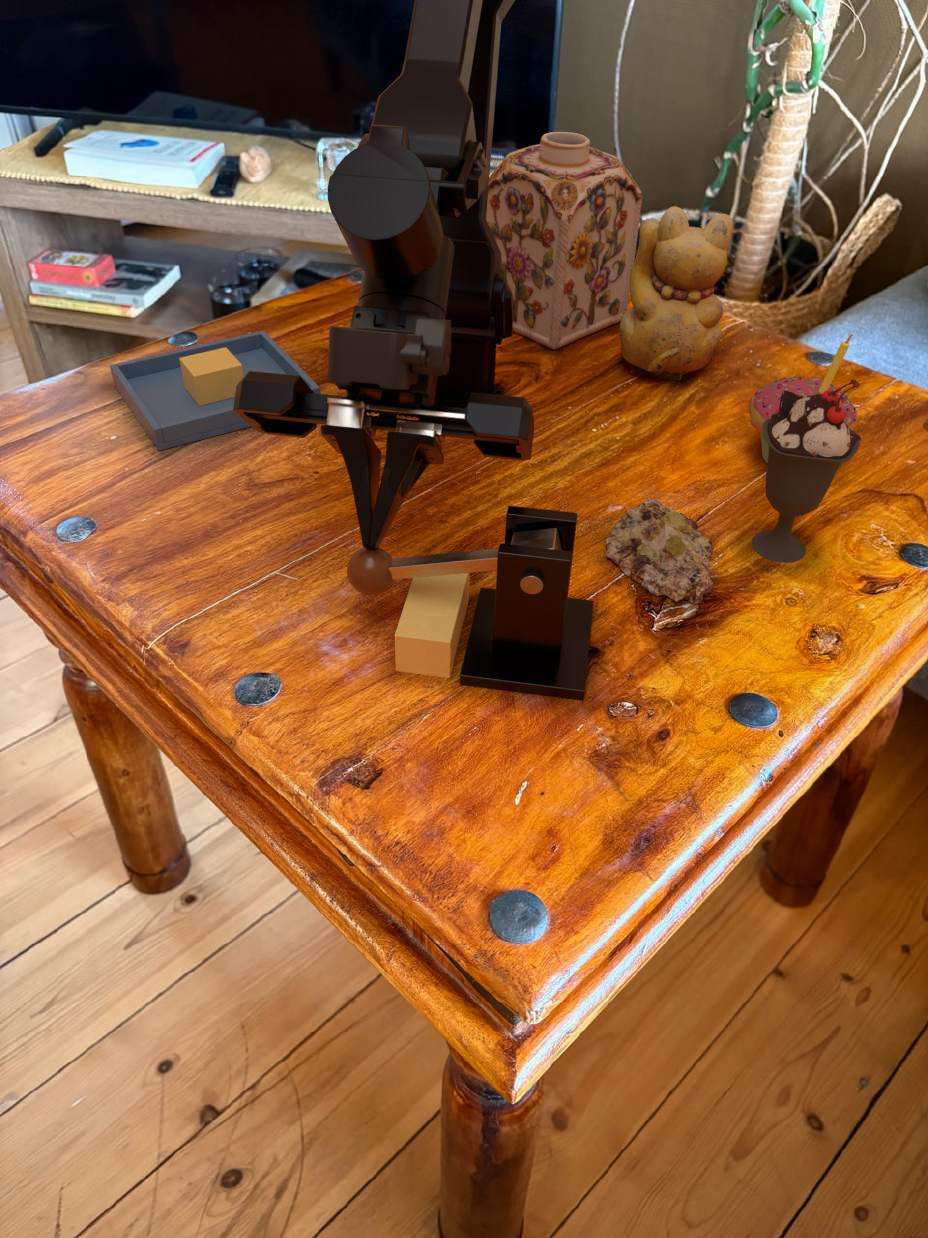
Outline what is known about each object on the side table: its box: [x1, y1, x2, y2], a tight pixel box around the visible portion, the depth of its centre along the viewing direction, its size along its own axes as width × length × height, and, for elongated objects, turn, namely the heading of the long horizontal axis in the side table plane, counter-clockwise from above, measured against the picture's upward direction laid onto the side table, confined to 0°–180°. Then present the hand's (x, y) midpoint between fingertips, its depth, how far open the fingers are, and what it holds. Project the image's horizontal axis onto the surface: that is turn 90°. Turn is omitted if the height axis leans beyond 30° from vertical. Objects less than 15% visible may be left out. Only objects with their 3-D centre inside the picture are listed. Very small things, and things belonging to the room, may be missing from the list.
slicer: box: [459, 505, 595, 702], centre depth 64 cm, size 8×9×10 cm
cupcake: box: [748, 333, 859, 464], centre depth 81 cm, size 9×8×12 cm
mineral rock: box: [605, 498, 715, 605], centre depth 73 cm, size 11×4×8 cm
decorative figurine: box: [619, 205, 734, 382], centre depth 92 cm, size 10×8×15 cm
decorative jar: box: [486, 131, 643, 351], centre depth 100 cm, size 12×12×18 cm
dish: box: [109, 330, 321, 452], centre depth 91 cm, size 15×13×2 cm
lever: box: [346, 528, 562, 596], centre depth 63 cm, size 14×3×3 cm, turn 81°
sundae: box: [751, 378, 862, 564], centre depth 71 cm, size 7×7×15 cm
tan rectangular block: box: [394, 573, 471, 679], centre depth 66 cm, size 8×4×4 cm, turn 171°
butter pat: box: [179, 347, 244, 406], centre depth 90 cm, size 4×4×3 cm
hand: (370, 548), depth 63 cm, fingers closed, pressing on lever
